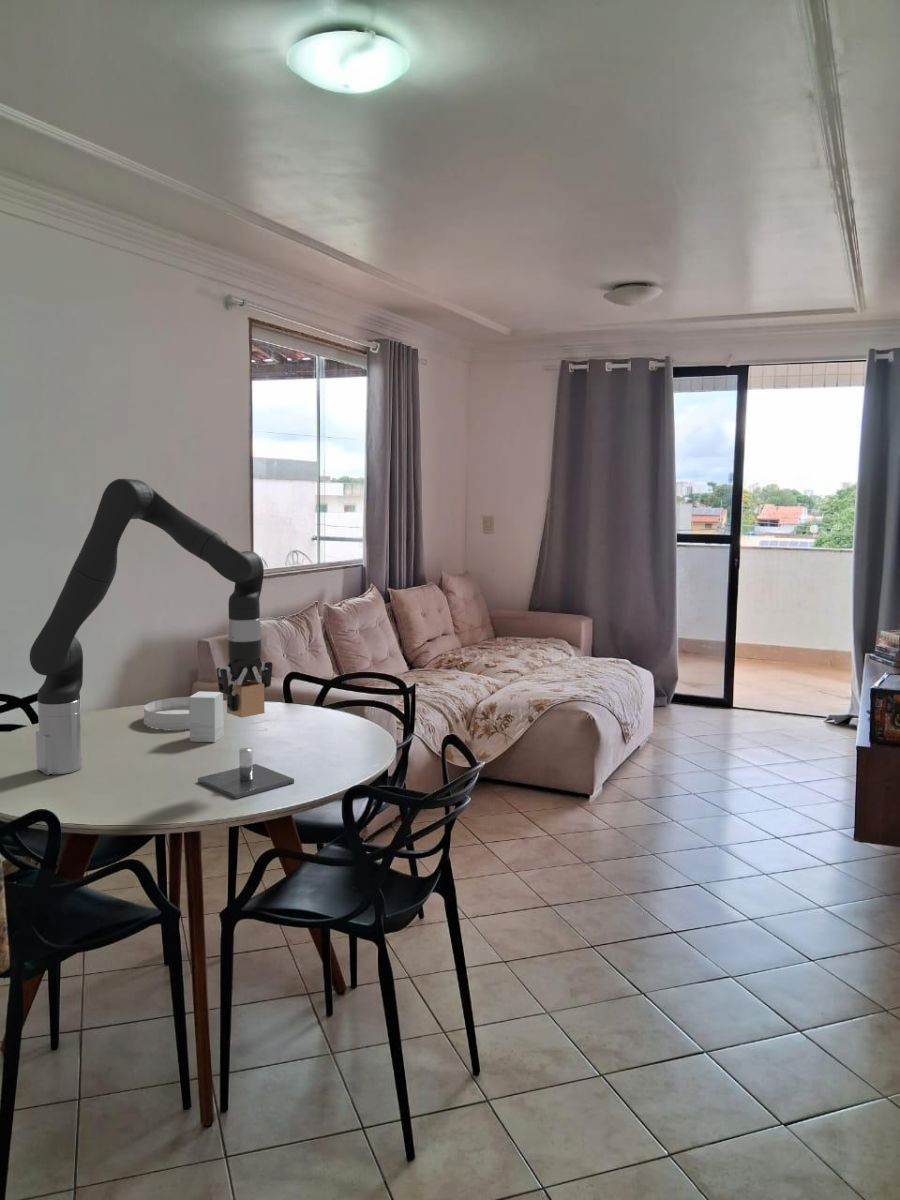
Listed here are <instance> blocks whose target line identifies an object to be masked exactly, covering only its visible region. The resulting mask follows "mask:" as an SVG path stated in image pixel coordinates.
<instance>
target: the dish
mask: <svg viewBox="0 0 900 1200" xmlns="http://www.w3.org/2000/svg"><path fill="white" fill-rule="evenodd" d="M189 697H190V696H180V697H179V696H178V697H169V698H162V699H157V700H153V701H150V702H149V703H146V704H145V705H144V708H143V724H144V726H145V725H147V726H149V727H153V728H158V729H157V730H159V729H170V730H169V731H187V730H186V729H190V718H189ZM147 726H146V727H147ZM149 727H148V728H149ZM153 728H152V729H153ZM184 729H185V730H184Z"/></svg>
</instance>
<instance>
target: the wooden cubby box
mask: <svg viewBox="0 0 900 1200" xmlns="http://www.w3.org/2000/svg"><path fill="white" fill-rule="evenodd" d="M228 684H229V683H228ZM232 688H233V685H232ZM236 696H237V711H234V712H233V711H230V710H229V708H228V707H227V706H226V713H227V714H228V715H232V716H235V717H239V718H242V719H243V718H246V717H248V718H249V717H252V716H257V715H263V714H265V713H266V712H265V689H264V684H263V683H256V682H252V681H250V680H247V681H245V682H242V684H241V686H237V693H236Z"/></svg>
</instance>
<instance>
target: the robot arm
mask: <svg viewBox="0 0 900 1200" xmlns="http://www.w3.org/2000/svg"><path fill="white" fill-rule="evenodd" d="M102 493H103V494H102V496H101V498H100V502H99V505H98V508H97V511H96V513H95V516H94V519H93V521H92V525H91V527H90V530H89V532H88V533H87V536H86V538H85V540H84V542H83V544H82V546H81V549H80V552H79V553H78V555H77V557H76V560H75V561H74V563H73V565H72V568H71V570H70V572H69V574H68V577H67V578H66V581H65V583H64V586H63V588H62V589H61V592H60V594H59V596H58V598H57V600H56V602H55V605H54V607H53V610H52V612H51V613H50V615H49V617H48V619H47V621H46V622H45V624H44V626H43V627H42V628H41V630H40V632H39V634H38V635H37V637H36V638H35V640H34V642H33V643H32V646H31V648H30V651H29V662H30V666H31V668H32V669H33V671H34V672H35V673H36V674H38V675H42V676H45V679H44V681H43V684H42V685H41V686H40V688H39V689H38V691H37V709H38V710H37V713H38V714H37V716H38V718H37V719H38V731H36V732H35V746H36V747H35V749H36V770H37V769H39V770H40V771H42V772H43V773H42V772H41V773H42V774H44V773H45V774H46V776H50V775H49V774H52V775H63V774H70V773H74V772H77V771H78V770H81V769H82V767H83V766H82V763H83V762H82V760H83V759H82V739H81V738H82V736H81V709H80V708H81V705H80V703H81V701H80V692H81V689H82V687H83V680H84V678H83V677H84V654H83V653H84V652H83V647H82V645H81V643H80V641H79V639H78V637H76V635H77V633H78V631H79V629H80V628H81V626H82V625H83V624H84V623H85V621H86V620H87V618H89V617H90V616H91V615H92V613H93V612H94V611H95V610H96V609H97V608H98V606H99V605H100V604H101V603H102V602H103V600H104V598H105V597H106V595H107V593H108V590H109V588H110V586H111V585H112V582H113V580H114V578H115V576H116V573H117V566H118V565H117V564H118V548H119V545H120V544H119V543H120V541H121V538H122V536H123V534H124V533H125V530H126V528H127V526H128V524H129V523H130V522H131V520H140V521H144V522H147V523H149V524H151V525H154V526H155V527H157V528H159V529H161V530H162V531H164V532H165V533H166V534H167V535H168V536H170V537H171V538H172V539H173V540H174V541H175V542H176V544H178V545H179V546H180V547H181V548H183V549H184V550H185V551H187V552H188V553H190V554H191V555H193V556H195V557H197V558H198V559H200V560H201V561H203V562H205V563H207V564H209V566H210V567H211V568H212V569H213V570H215V571H216V572H217V573H218V574H219V575H221V577H223V578H225V579H227V580H228V581H230V582H232V583H234V590H233V592H232V594H231V595H229V598H228V622H227V623H228V624H227V657H228V661H229V662H228V665H227V666H226V667H217V668H216V670H215V671H216V676H217V684H218V692H220V693H223V695H224V694H225V695H226V708H227V707H228V708H229V710H230V711H233V712H234V711H237V696H236V693H237V686H241V684H242V682H245V681H247V680H250V681H252V682H256V683H263V684H264V690H265V689H266V688H270V687H271V685H272V674H273V662H271V661H268V660H263V661H262V660H261V657H262V626H261V614H260V613H261V611H260V610H261V608H260V607H261V606H260V605H261V604H260V596H261V593H262V588H263V583H264V572H265V571H264V569H265V568H264V564H263V559H262V558H261V556H260V555H259V554H257V552H254V551H252V550H244V551H238V550H237V549H235V548H233V547H232V546H230V545H229V543H228V541H227V539H226V538H225V537H223V536H222V535H221V534H219V533H217V532H215V531H214V530H213V529H211V528H209V527H208V526H205V525H204V524H203V523H201V522H199V521H197V520H195V519H194V518H193V517H190V516H189V515H187V514H186V513H184V512H182V511H181V510H179V509H178V508H177V507H176V506H174V505H173V504H172V503H170V502H169V501H168V500H166V499H165V497H163V496H162V495H161V494H159V493H158V492H157V490H155V489H154V488H153V487H151V486H150V485H149V484H147V483H146V482H145V481H142V480H139V479H131V478H117V479H114V480H113V481H111V482H110V483H108V484H107V486H106V488H105V489H104V491H103V492H102ZM260 670H261V673H259V672H260ZM260 674H261V675H260ZM229 676H230V677H229ZM228 683H229V684H228ZM232 685H233V688H232ZM40 771H39V772H40ZM45 774H44V775H45Z"/></svg>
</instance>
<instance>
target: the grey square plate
mask: <svg viewBox="0 0 900 1200" xmlns="http://www.w3.org/2000/svg"><path fill="white" fill-rule="evenodd" d="M238 755H239V760H238V761H239V764H238V765H239V767H237V768H233V769H228V770H225V771H220V772H217V773H213V774H208V775H204V776H200V777H198V778H197V783H199V784H201V785H203V786H205V787H208V788H210V789H212V790H215V791H217V792H219V793H221V794H223V795H226V796H228V797H231V798H232V799H234V798H235V800H238V799H240V797H241V798H244V797H243V796H245V797H248V796H247V795H249V796H251V794H252V795H255V794H254V793H256V794H259V793H258V792H260V793H262V792H261V791H263V792H266V791H265V790H267V791H270V790H269V789H271V790H273V789H272V788H274V789H277V788H276V787H278V788H280V787H279V786H282V787H284V786H283V785H285V786H288V785H287V784H289V783H293V782H294V783H295V778H293V777H291V776H287V775H286V774H283V773H281V772H280V773H279V772H277V771H275V770H273V769H269V768H268V767H265V766H262V765H259V764H257V763H254V764H253V748H251V747H241V748H239V753H238ZM294 783H293V784H294ZM289 785H290V784H289ZM237 798H238V799H237Z"/></svg>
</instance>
